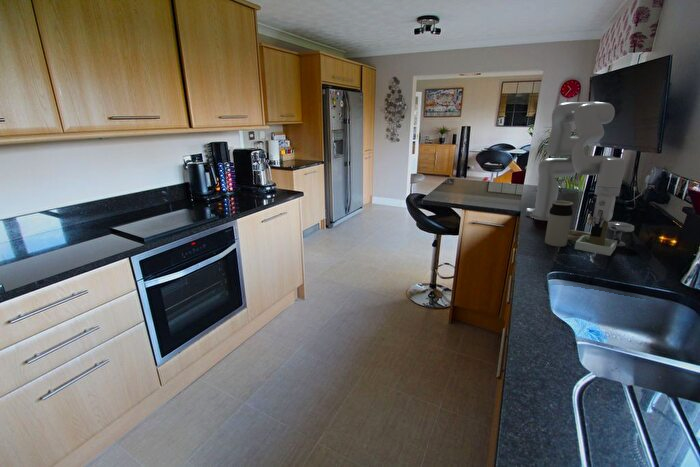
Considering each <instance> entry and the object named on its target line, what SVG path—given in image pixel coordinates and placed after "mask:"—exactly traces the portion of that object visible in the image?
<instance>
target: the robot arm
mask: <svg viewBox="0 0 700 467" xmlns="http://www.w3.org/2000/svg"><path fill="white" fill-rule="evenodd" d="M551 114H552V115H551V130H550V135H549V138H548V141H547V142H548V143H547V147H546V154H547V155H548V156H549V157H550V158H544V159H542V160H541V161H540V162H539V164H538V168H537V169H538V182H537V191H536V197H535V206H534V208H526V209H525V212H526V213H530V215H529V216H530V218H532V219H533V218H534V220H538V221H546V222H548V218H549V212H550V208H551V207H552V201H557V200H558V195H559V188H560V187H559V182H558V180H557V179H556V178H568V177H573V176H575V175H576V174H578V175H580V176H597V177H596V184H595V190H594V195H596V200H595V205H594V209H593V214H592V215H593V216H592V219H593V221H594V223H593V226H592V225H591V226H592V227H591V229H590V230H591V231H590V233H591V236H595V237H601V233H602V228H603V227H602V225H603V222H604V221H606V222H610V220H612V218H613V214H614V211H615V210H614V208H615V203H616V197H619V196H620V192H621V188H622V187H621V185H622V183H623V179H624V174H625V169H626V165H627V164H626V163H627V161H626V159H624V158H622V157H615V156H613V155H586V154H585V147H586V146H590V145H592V144H594V143H596V142H598V141H599V140H601V139H602V138H603V137H604V136H605V130H604V126H603V125H607V124H609V123H611V122H612V121H614V120H613V119H614V117H615V115H616V110H615V107H614V105H613V104H611V103H610V102H600V101H579V102H578V101H574V102H573V101H572V102H562V103H559V104H557V105H556V106H555V107H554V109H553V110H552V113H551ZM572 123H574V124H575V127H576V128H575V129H576V133H577V135H578V136H571V134H572V132H573V126H572ZM562 157H563V158H562Z"/></svg>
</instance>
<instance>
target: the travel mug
mask: <svg viewBox="0 0 700 467" xmlns="http://www.w3.org/2000/svg"><path fill="white" fill-rule="evenodd" d="M573 205H574V202H572V201H570V200H569V201H568V200H561V199H559V200H558V199H557V201H552V207H551V208H550V212H549V218H548V221H547V226H546V232H545V238H544V243H545V244H547V245H548V246H551V247H559V248H561V247H562V248H563V247H566V246H567V244H568V241H569V240H568V235H569V229H570V228H571V225H572V224H571V222H572V217H573V213H574V212H573V209H572V208H573ZM570 230H571V229H570Z"/></svg>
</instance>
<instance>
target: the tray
mask: <svg viewBox="0 0 700 467" xmlns="http://www.w3.org/2000/svg"><path fill="white" fill-rule="evenodd" d="M579 237H580V238H579V239H578V240H577V241H575V244H574V249H575V250H580V251H584V252H589V253H594V254H599V255H604V256H612V254H613V253H614V251H615V249H616V248H617V246H616V245H617V241H616V240H613V239H609V238H605V246H601V245H595V244H590V243H587V242H586V241H585V239H586V240H587V241H588V240H589V237H590V236H587V235H582V236H579Z"/></svg>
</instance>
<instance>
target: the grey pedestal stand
mask: <svg viewBox="0 0 700 467" xmlns="http://www.w3.org/2000/svg"><path fill="white" fill-rule="evenodd" d="M606 230H611V231H613V232H614V233H613V238H612V240H616V241H617V245H616V248H618V247H619V248H620V247H621V248H623V247H625V246H626V242H624V241H621V239H622V235H623V233H631V232H634V230H635V225H633V224H631V223H627V222H622V221H608V227H607V228H606Z"/></svg>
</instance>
